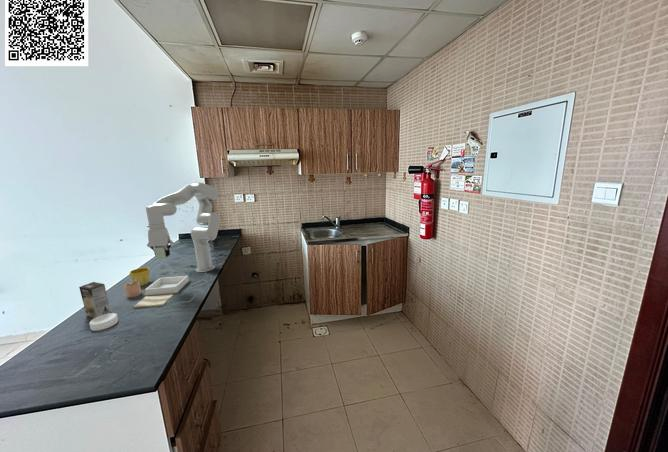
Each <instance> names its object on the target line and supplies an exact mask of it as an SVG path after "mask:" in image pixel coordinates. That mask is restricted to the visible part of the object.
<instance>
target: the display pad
mask: <svg viewBox="0 0 668 452" xmlns="http://www.w3.org/2000/svg"><path fill="white" fill-rule="evenodd" d="M174 294H175V293H170V294H159V295H147V296H146V295H145V296H144V297H143V298H141V300H139V301H138V302H137V303H136V304H134V305H133V307H132V308H133V309H143V308H152V307H154V308H155V307H164V306H165V305H166V304H167V302H168V301H169V300H170V299H171V298H172V296H174Z"/></svg>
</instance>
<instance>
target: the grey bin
mask: <svg viewBox="0 0 668 452" xmlns="http://www.w3.org/2000/svg"><path fill="white" fill-rule="evenodd" d="M189 279H190V278H189V275H180V276H179V275H178V276H168V277H167V276H166V277H159V278H157V280H155V281H154V282H153V283H151V284H150V285H149V286H147V287H146V288H145V289H144V295H145V297H146V296H155V295H166V294H178V292H179V291H181V289H182V288H183V287H185V286H186V285H187V284H188V283H189V281H190V280H189Z"/></svg>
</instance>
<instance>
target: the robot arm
mask: <svg viewBox="0 0 668 452" xmlns="http://www.w3.org/2000/svg"><path fill="white" fill-rule="evenodd" d="M219 195H220V194H219V190H218V189H217V188H216V187H215V186H212V185H209V184H207V183H204V182H190V183H187V184H185V185H184V186H183V187H182V188H180V189H178V190H177V191H176V192H174V193H170V194H168V195H166V196H163V197H161V198H159V199H157V201H155V202H153V204H152V205H147V206H146V207H145V211H146V217H147V222H148V225H146V227H147V228H148V230H147V236H148V243H147V244H146V246H147V247H148V248H149V249H150V250H152V251H153V252H154V253H153V254H154V256H155V257H156V254H155V249H154V248H155V247H157V246H164V247H165V249H166V250H165V253H166V257H168V256H169V255H170V254H171V252H170V248H172V247H173V245H174V244H175V242H174V241H172V240H171V237H170V233H169V230H168V228H167V227H166V225H165V224H166V223H165V219H164V217H168V216H169V217H171V216H173V215H175V214H176V213H177V210H178V209H177V206H180V205H184V204H186V203H188V202H189V201H190V200H191V199H193V198H194V197H195V198H196V200H197V202H198V204H199V206H198V212H197V215H196V224H197V225H199V226H196V227H193V228H192V229H191V231H190V236H191V240H192V241H193V246H194V251H195V258H196V265H197V267H196V268H195V271H196V272H197V273H205V272H206V273H207V272H209V271H212V270H214V269H215V268H216V266H215V265H214V264H213V263H212V262H213V259H212V255H211V248H210V243H209V242H208V241H214V240H215V239H216V238H217V236H218V232H219V227H220V222H221V219H220V215H219V214H218V213H217V212H212V210H213V205H212V203H211V202H210V200H216V199H217V198H218V197H219ZM169 257H170V256H169ZM169 257H168V258H169Z"/></svg>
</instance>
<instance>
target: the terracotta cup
mask: <svg viewBox="0 0 668 452" xmlns="http://www.w3.org/2000/svg"><path fill="white" fill-rule="evenodd" d="M141 287H142V286H140V282H139V281H133V280H132V281H128V282H126V283H124V291H125V296H126V298H127V299H129V298H130V299H131V298H137V297H139V296H141V295H142V293H143V292H142V288H141Z"/></svg>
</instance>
